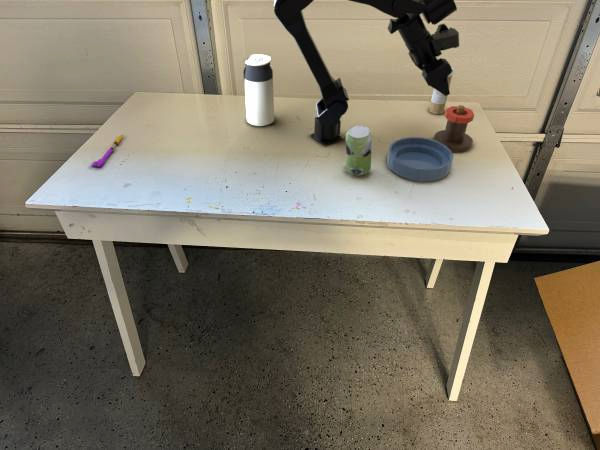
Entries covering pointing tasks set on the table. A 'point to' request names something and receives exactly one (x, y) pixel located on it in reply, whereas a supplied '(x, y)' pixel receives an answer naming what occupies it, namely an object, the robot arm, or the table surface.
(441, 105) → the sprinkles bottle
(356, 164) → the beverage can
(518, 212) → the table surface
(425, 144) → the dish
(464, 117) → the ring
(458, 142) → the ring stand
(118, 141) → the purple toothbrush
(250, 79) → the travel mug
